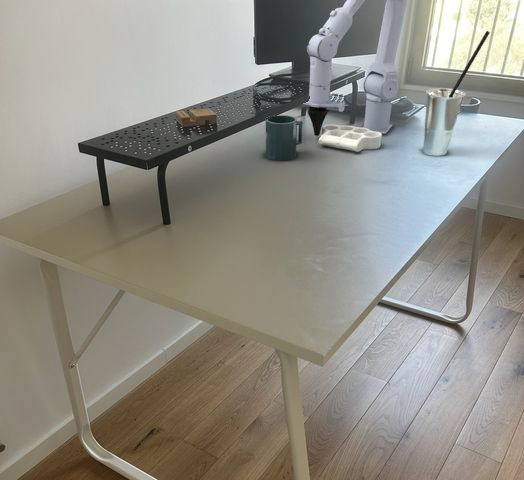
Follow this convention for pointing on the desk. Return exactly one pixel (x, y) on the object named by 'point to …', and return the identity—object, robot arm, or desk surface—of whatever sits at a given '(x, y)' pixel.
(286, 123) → the mug
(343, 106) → the robot arm
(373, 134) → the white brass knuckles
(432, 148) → the metal cup with straw
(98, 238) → the desk surface
